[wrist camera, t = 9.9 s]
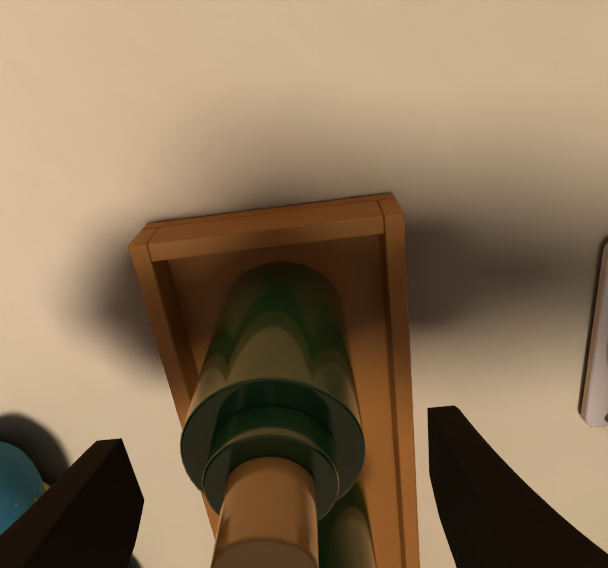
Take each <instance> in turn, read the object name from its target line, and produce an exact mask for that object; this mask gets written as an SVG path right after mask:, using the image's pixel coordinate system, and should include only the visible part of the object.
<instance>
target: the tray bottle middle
mask: <svg viewBox="0 0 608 568" xmlns="http://www.w3.org/2000/svg"><path fill="white" fill-rule="evenodd" d="M318 551H319V568H377V564H376V557H375V549H374V542H373V535H372V528H371V521H370V514H369V507H368V500H367V493H366V486H365V479H364V472H363V468H362V471H361V473H360V475H359V477H358V479H357V481H356V482H355V483H354V485H353V486H352V487H351V489H350V490H349V491H348V492H347V493H346V494H345V495H344V496H342V497H341V498H340V499H339V500H337V501H336V502H335V503H334V505H333V507H332V508H331V509H330V511H329V512H328V513H327V514H326V515H325V516H324V517H323V518H322V519H321V520H319V521H318Z"/></svg>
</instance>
